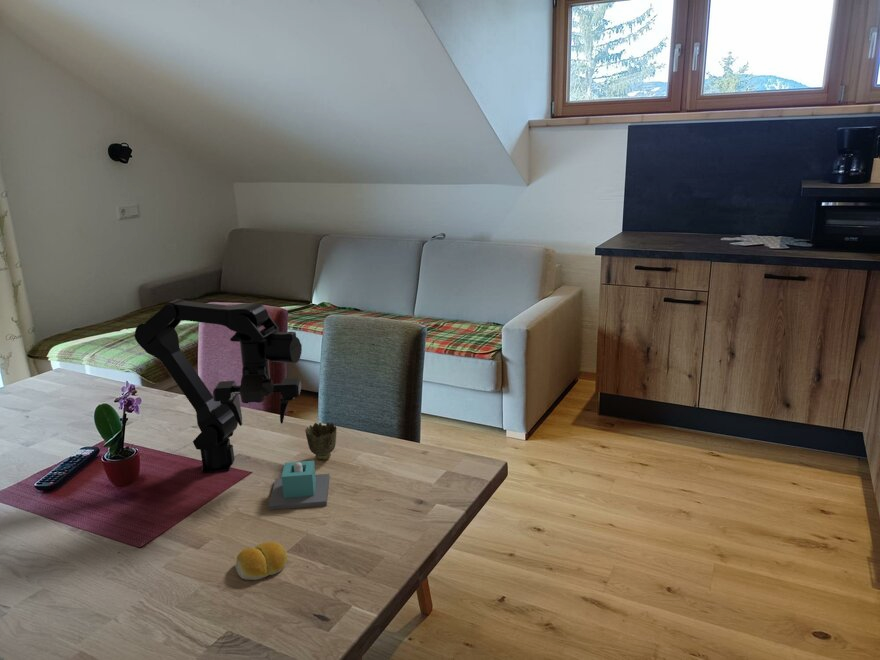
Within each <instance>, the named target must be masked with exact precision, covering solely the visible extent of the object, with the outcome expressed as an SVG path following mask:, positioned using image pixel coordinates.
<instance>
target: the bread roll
mask: <svg viewBox="0 0 880 660" xmlns="http://www.w3.org/2000/svg"><path fill="white" fill-rule="evenodd" d="M287 561H288V554H287V551H286V549H285V547H284V546H283V545H281V544H280V543H278V542H275V541H266V542H261V543H258V544H257V545H255V547H247V548H244V549H241V551H240V552H239V553H238V555H237V556H236V563H235V570H236V572H237V573H236V574H238V576H239V577H240V578H241V579H243V580H246V581H250V580H251V581H257V580H261V579H265V578H266V577H268V576H273V575H275V574H276V575H277V574H278V573H280V572H281V571H283V570H284V568H285V565H286V564H287Z"/></svg>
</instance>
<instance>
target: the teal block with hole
mask: <svg viewBox="0 0 880 660" xmlns="http://www.w3.org/2000/svg"><path fill="white" fill-rule="evenodd" d="M297 462H298V461H292V462H291V461H290V462H284V465H283V468H282V472H281V477H282V486H283V496H284V498H289V497H301V496H314V492H315V484H316V476H315V475H316V467H315V464H316V463H315V460H306V461H305V460H304V461H299V462H300V463H301V464H302V468H303V472H294V464H295V463H297Z"/></svg>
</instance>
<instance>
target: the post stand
mask: <svg viewBox="0 0 880 660" xmlns="http://www.w3.org/2000/svg"><path fill="white" fill-rule="evenodd" d="M296 462H297V463H295V464H294V472H303V468H302V464H301V463H300V462H301V461H296ZM315 476H316V484H315V492H314V496H301V497H289V498H284V496H283V486H282V476H280V477H275V480H274V484H273V487H272V491H271V495H270V499H269V502H268V511H272V510H273V511H274V510H286V509H298V508H299V509H300V508H310V507H313V508H314V507H324V506H327V505H328V496H329V487H330V486H329V485H330V473H321V474H315Z"/></svg>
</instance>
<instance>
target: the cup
mask: <svg viewBox="0 0 880 660" xmlns="http://www.w3.org/2000/svg"><path fill="white" fill-rule="evenodd" d="M337 430H338V429H337V425H335V424H334V423H333V422H331V423H330V422H326V424H325V425H322V423H321V422H319V423H317V422H315V423H313V425H311V424H310V425H309V427H308V426H307V427H306V428H305V430H304V431H305V436H306V440H307V441H306V442H307V446H308V448H309V450H310V452H311V453H312V454H313V455H315V456H314V457H315V458H316V459H317V460H318V461H319V462H321V461H324V462H325V461H328V460H329V459H330V458H331V456H332V455H331V453H333V451H334V450H335V449H336V443H337Z"/></svg>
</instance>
